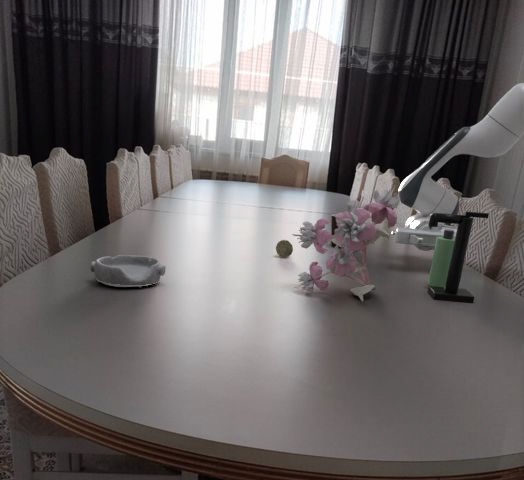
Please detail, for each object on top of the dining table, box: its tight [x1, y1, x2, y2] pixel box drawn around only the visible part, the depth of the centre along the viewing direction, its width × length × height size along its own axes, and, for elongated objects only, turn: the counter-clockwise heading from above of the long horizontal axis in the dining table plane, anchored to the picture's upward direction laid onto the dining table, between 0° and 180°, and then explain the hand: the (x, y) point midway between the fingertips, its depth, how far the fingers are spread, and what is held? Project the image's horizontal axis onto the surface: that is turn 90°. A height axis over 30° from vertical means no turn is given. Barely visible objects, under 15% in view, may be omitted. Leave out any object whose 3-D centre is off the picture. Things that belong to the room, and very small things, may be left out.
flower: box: [291, 184, 401, 302], centre depth 115 cm, size 20×22×25 cm
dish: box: [90, 254, 167, 289], centre depth 114 cm, size 14×14×5 cm
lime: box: [275, 239, 294, 259], centre depth 152 cm, size 4×5×5 cm
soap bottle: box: [427, 230, 455, 287], centre depth 131 cm, size 5×5×14 cm
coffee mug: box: [330, 213, 344, 249], centre depth 174 cm, size 12×9×10 cm
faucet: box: [427, 210, 490, 304], centre depth 119 cm, size 12×7×20 cm, turn 85°
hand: (437, 243), depth 138 cm, fingers open, 8 cm apart
